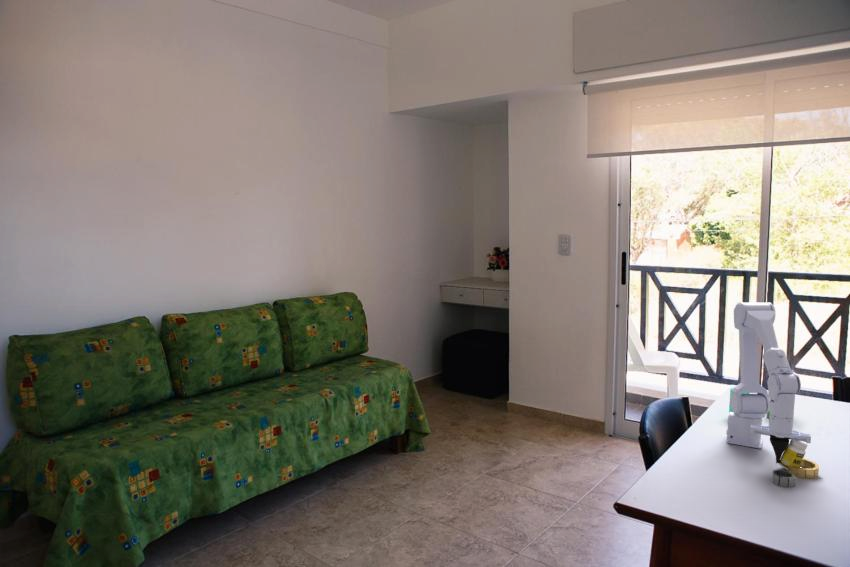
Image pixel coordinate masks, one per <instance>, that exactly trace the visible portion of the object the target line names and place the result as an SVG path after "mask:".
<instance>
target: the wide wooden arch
mask: <svg viewBox="0 0 850 567" xmlns="http://www.w3.org/2000/svg"><path fill="white" fill-rule="evenodd" d="M800 467H802V468H800ZM819 469H820V468H819V464H817V463H816V462H815V461H814V460H810V459H807V458H803V459H802V462H801V464H800V466H799V467H794V466H789V465H788V469H787V470H786V471H788V472H791V473H793V474H795V478H800V479H806V480H807V479H817V478H819V471H820V470H819Z"/></svg>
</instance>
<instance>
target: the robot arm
mask: <svg viewBox="0 0 850 567" xmlns="http://www.w3.org/2000/svg"><path fill="white" fill-rule="evenodd" d="M734 306H735V307H734V308H733V324H734V329H736V330H738V343H739V346H738V347H739V365H740V366H739V367H740V368H739V370H740V382H739V383H737V385H735V386H733V387H734V388H733V389H732V391H731V398H730V397H729V404H730V406H731V409H732V411H733V412H729V411H728V419H727V429H726V443H727V444H731V445H732V444H733V445H738V446H743V447H749V448H756V449H762V446H763V445H762V444H763V438H762V435H763V436H769V441H770V444H771V446H772V449H773V451H774V454H775V461H776V462H775V463H776V464H779V461H780V459H781V456H782V454H783V452H784V450H785V448H786V447H787V446H788V444H789V443H790V440H791V439H793V440H797V441H803V442H805V443H807V444H811V441H812V434H809V433H804V432H800V431H798V430H795V429H794V430H793V426H794V414H795V412H794V411H795V402H796V400H795V399H796V395H798V394H799V393H800V392H801V387H802V386H801V385H802V384H801V379H800V376H799V375H798V374H797V373H796V372H795V370H794V369H791V366H790V364H789V363H790V362H789V361H788V358H787V355H786V352H785V351H784V349H781V348H780V347H779V345H778V340H777V336H776V332H775V328H774V323H775V320H776V309H775V306H774V304H773V303H772V302H770V301H769V302H768V301H767V302H742V301H741V302H740V301H739V302H737V303H736V305H734ZM758 339H759V341H760V343H761V344H762V348H763V350H764V353H763V354H762V359H763V363H764V366H765V368H766V371H767V374H768V376H769V377H768V379H767V380H766V382H767V383H766V384H767V388H768V389H769V398H771V403H770V401H769V398H768V390H767V389H766V388H764V387H763V386H762V385H761V384H760V376H759V374H760V373H759V354H758V353H759V348H758ZM743 393H749V394H743ZM769 410H770V416H769V420H768V426H767V425H763V418H765V417H766V415H767V413H768V412H769Z"/></svg>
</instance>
